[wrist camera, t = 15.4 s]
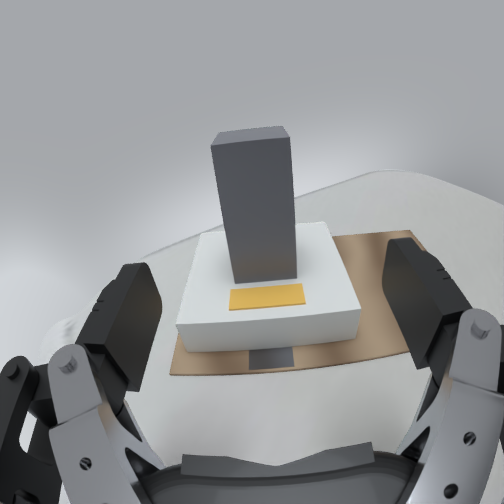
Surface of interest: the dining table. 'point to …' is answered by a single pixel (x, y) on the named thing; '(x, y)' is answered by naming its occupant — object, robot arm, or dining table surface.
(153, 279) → the robot arm
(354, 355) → the subfloor panel
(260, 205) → the block on square base
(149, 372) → the dining table surface
